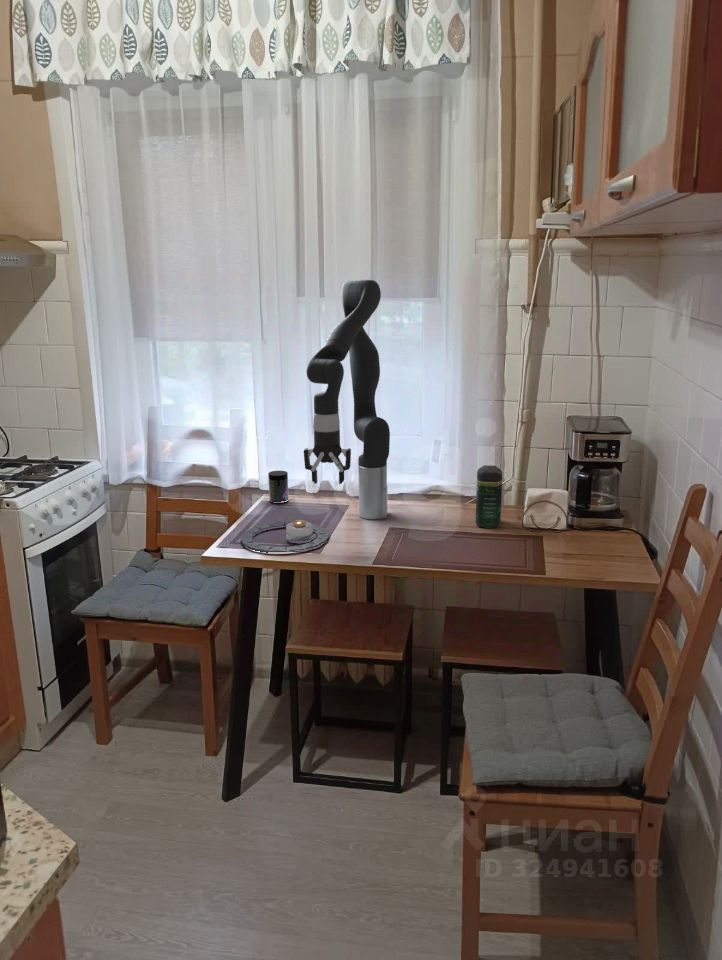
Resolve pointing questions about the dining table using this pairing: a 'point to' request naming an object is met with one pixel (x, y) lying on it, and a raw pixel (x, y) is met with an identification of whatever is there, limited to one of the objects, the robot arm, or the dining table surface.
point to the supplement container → (278, 486)
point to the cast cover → (299, 530)
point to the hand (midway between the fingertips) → (328, 483)
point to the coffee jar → (488, 496)
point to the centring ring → (252, 545)
